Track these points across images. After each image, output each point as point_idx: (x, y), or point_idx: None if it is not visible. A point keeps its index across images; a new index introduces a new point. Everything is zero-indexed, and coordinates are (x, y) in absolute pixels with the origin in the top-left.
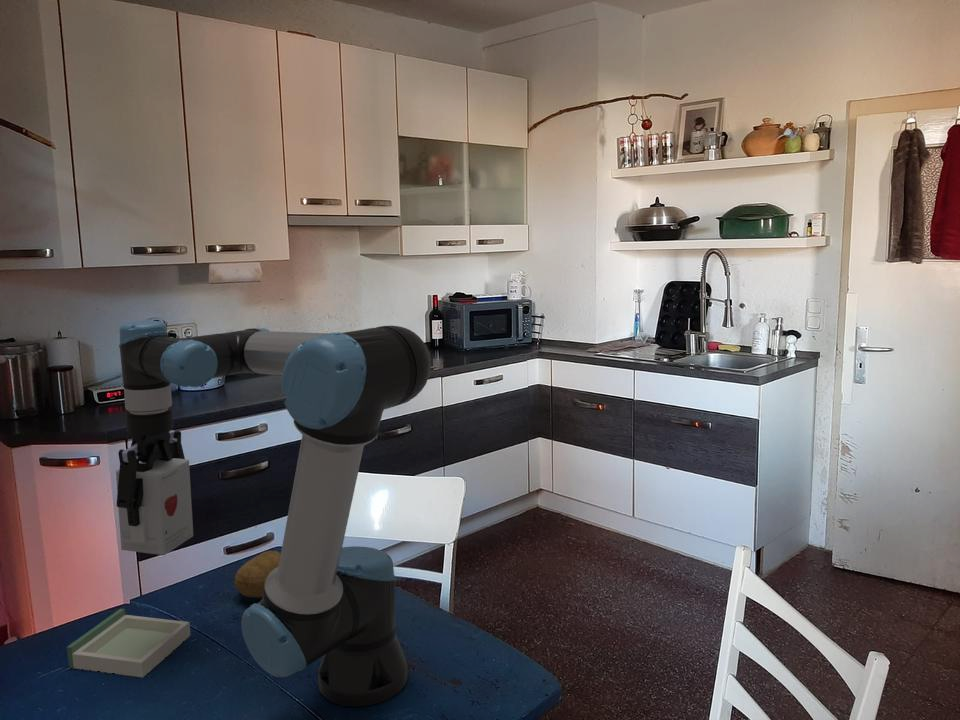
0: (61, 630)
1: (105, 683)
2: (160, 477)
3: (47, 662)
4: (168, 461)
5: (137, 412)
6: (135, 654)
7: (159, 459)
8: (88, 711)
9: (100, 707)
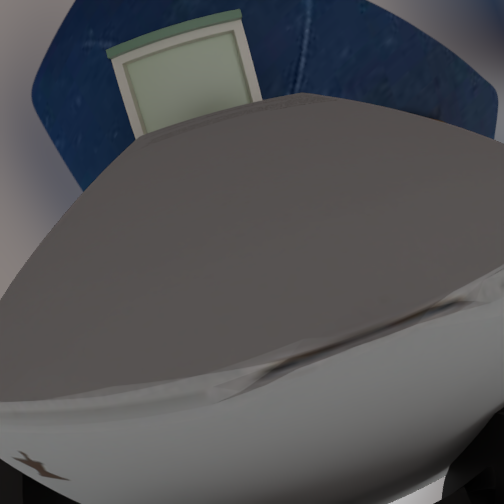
0: None
1: (117, 136)
2: None
3: (112, 15)
4: (437, 473)
5: None
6: (178, 116)
7: (477, 443)
8: (74, 178)
9: (85, 182)
